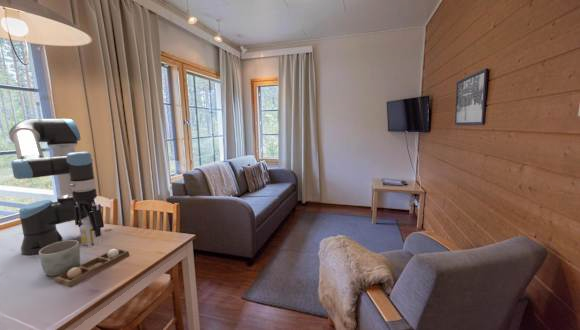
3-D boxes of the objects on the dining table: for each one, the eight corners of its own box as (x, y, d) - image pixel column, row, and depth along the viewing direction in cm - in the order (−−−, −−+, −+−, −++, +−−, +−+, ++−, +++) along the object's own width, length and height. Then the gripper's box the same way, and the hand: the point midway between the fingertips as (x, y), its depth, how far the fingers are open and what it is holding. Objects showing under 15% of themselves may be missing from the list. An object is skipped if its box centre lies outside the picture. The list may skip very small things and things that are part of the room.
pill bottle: (105, 240, 108) (101, 215, 106) (95, 247, 101) (91, 221, 99) (89, 240, 107) (85, 215, 105) (78, 248, 101) (74, 221, 99)
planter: (48, 283, 97) (43, 257, 95) (38, 273, 103) (34, 249, 101) (87, 267, 107) (83, 244, 105) (76, 259, 113) (72, 237, 112)
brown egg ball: (65, 280, 98) (63, 270, 97) (77, 273, 102) (76, 264, 101) (72, 282, 96) (70, 272, 95) (84, 275, 100) (83, 266, 100)
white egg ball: (105, 259, 112) (104, 250, 111) (115, 254, 116) (113, 246, 115) (112, 261, 111) (111, 252, 110) (121, 256, 115) (120, 247, 114)
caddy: (55, 283, 96) (54, 277, 96) (116, 252, 119) (115, 248, 118) (70, 288, 94) (69, 282, 93) (129, 255, 116) (128, 251, 116)
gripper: (58, 190, 100) (66, 242, 104) (90, 194, 94) (98, 250, 97) (78, 185, 107) (86, 235, 111) (110, 189, 101) (117, 241, 104)
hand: (92, 242), depth 104 cm, fingers closed on pill bottle, 6 cm apart
